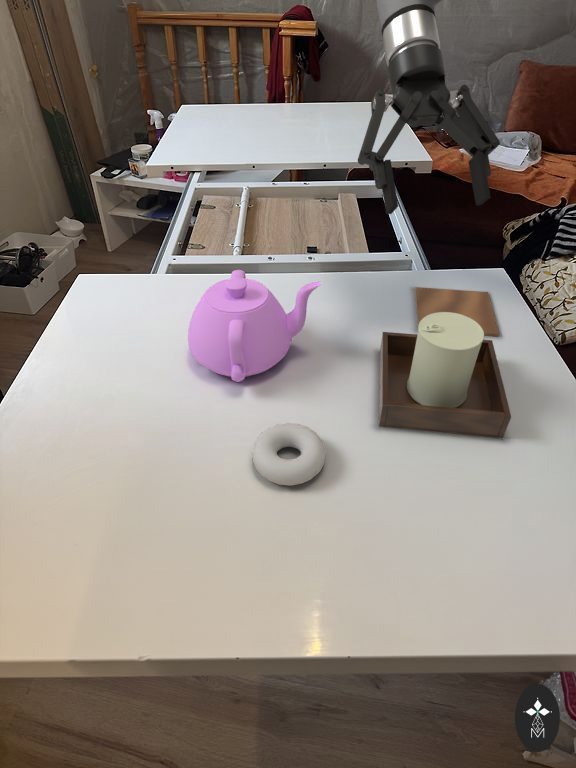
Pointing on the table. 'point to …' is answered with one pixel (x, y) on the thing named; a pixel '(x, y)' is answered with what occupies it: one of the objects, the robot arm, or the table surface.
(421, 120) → the robot arm
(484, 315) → the coaster
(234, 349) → the teapot
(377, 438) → the table surface
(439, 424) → the tray
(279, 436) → the donut
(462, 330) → the can
